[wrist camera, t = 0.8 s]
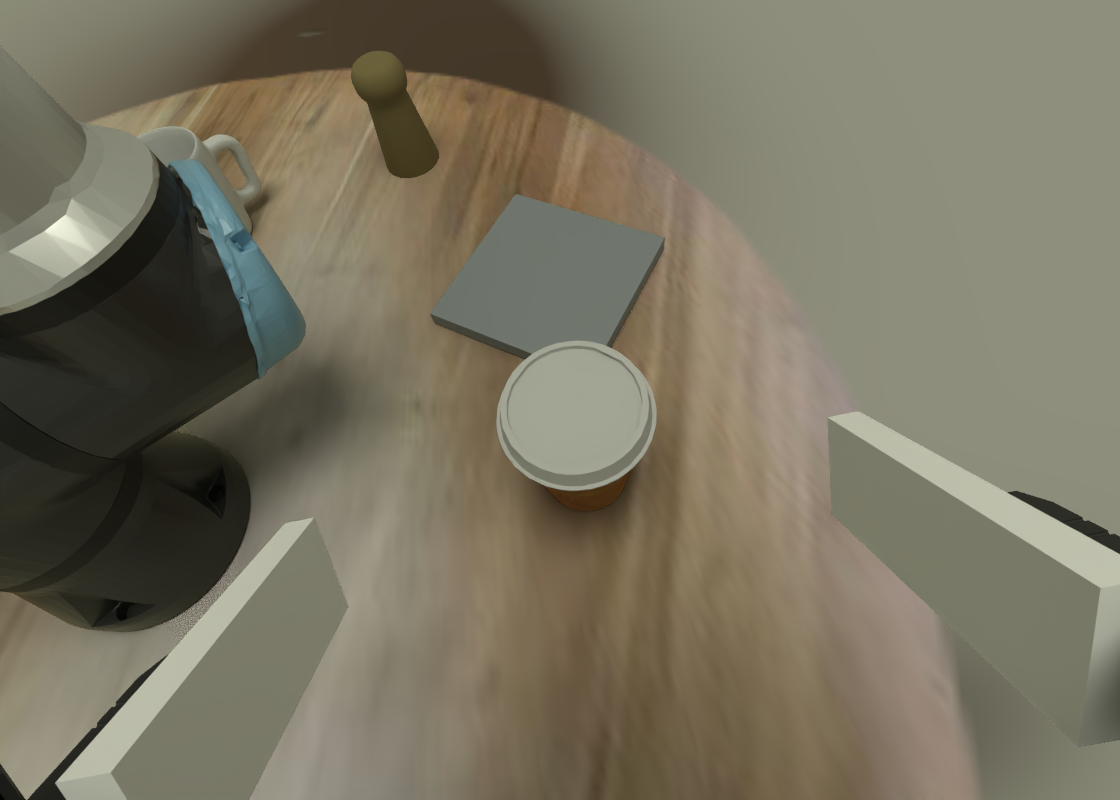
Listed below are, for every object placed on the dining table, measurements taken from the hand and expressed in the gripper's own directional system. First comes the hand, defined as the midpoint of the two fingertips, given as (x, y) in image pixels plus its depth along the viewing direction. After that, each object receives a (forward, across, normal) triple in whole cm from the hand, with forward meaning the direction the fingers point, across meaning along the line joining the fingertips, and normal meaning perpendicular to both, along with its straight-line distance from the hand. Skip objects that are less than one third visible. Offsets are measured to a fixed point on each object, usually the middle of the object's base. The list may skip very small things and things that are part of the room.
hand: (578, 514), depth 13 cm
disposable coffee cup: (+25, 0, -11) cm, 28 cm away
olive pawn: (+54, -12, +18) cm, 58 cm away
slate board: (+38, +1, +2) cm, 38 cm away
